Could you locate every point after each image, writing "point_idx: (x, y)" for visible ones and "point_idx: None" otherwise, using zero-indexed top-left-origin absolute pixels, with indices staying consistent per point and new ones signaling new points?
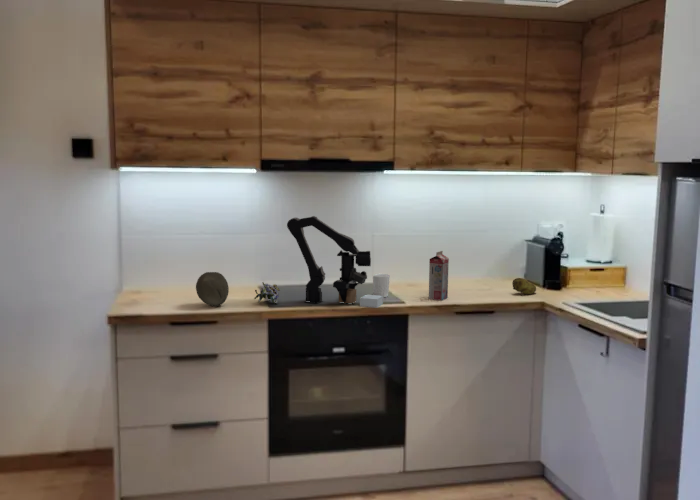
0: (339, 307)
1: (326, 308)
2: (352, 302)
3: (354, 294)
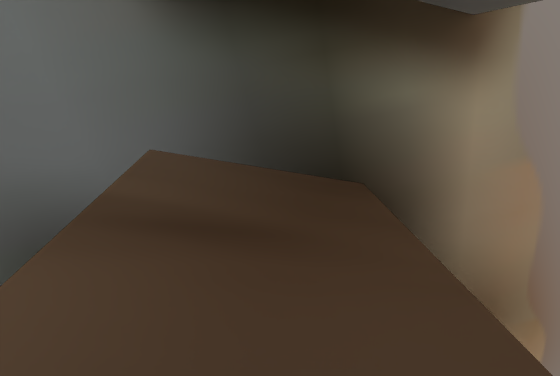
0: (513, 266)
1: (533, 343)
2: (316, 185)
3: (223, 254)
